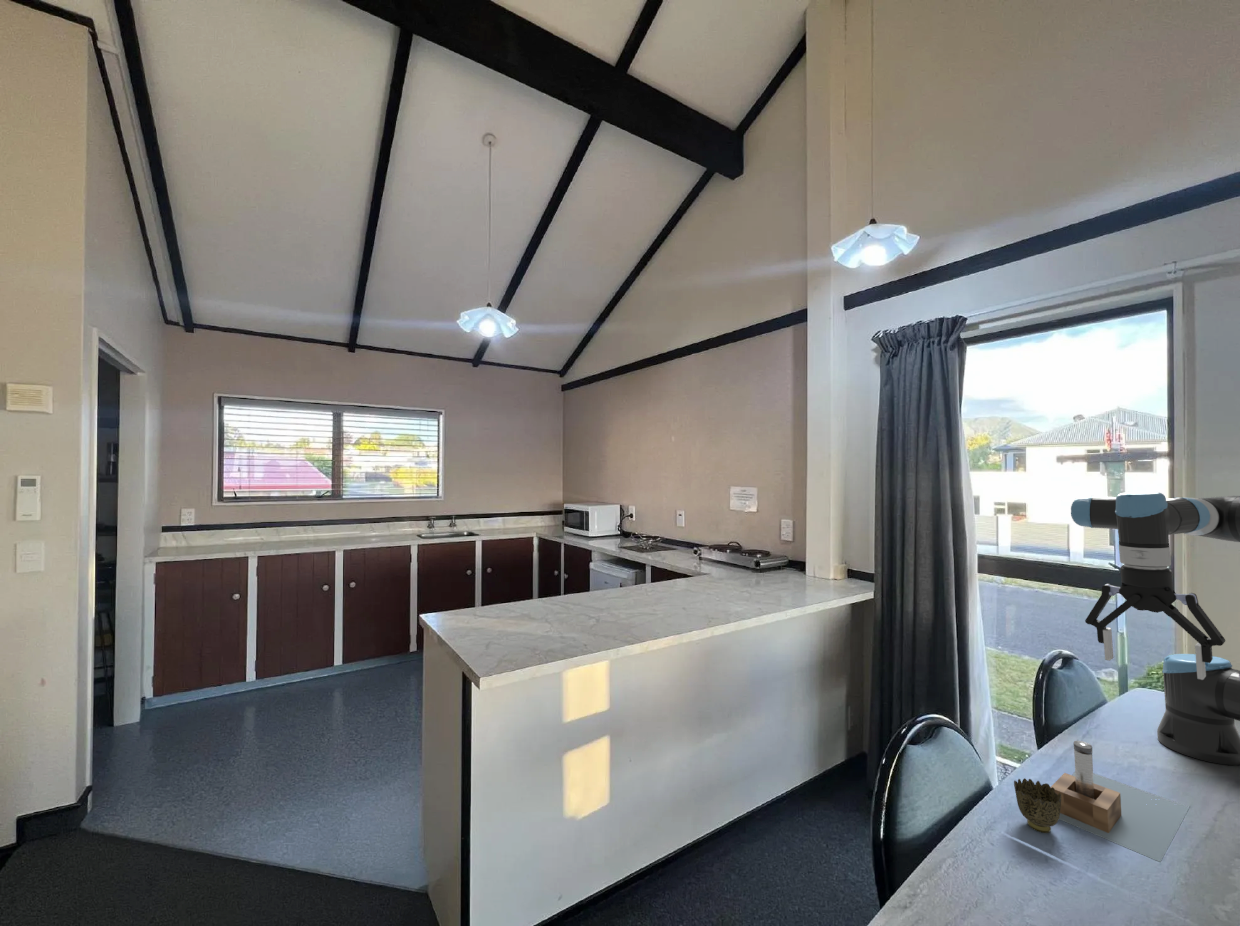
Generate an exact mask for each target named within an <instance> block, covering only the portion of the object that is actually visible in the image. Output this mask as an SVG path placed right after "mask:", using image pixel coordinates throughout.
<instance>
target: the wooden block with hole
mask: <svg viewBox="0 0 1240 926" xmlns="http://www.w3.org/2000/svg"><path fill="white" fill-rule="evenodd" d="M1050 787H1051V788H1052V787H1053V788H1054V790H1055V793H1056V794H1057V795H1058V794H1059V793H1060V794H1061V797H1062V798H1061V808H1060V813H1061V814H1064V815H1066V816H1069V817H1071V818H1073V819H1076V820H1078V821H1081V822H1083V823H1085V824H1088V825H1090V826H1093V827H1095V828H1097V829H1100V830H1102V831H1105V832H1107V833H1109V832H1110V831H1111V829H1112V828H1113V826H1114V825H1115V824H1116V822H1117V821H1118V819H1119V818H1120V817H1121V796H1120V793H1119V792H1116V791H1114V790H1111V789H1108V788H1105V787H1103V786H1100V785H1097V784H1094V799H1092V798H1089V797H1087V796H1084V795H1082V794H1079V793H1076V778H1075V776H1072V774H1068V773H1066V772H1064V773H1063V774H1062V775H1060V777H1059V778H1058V779H1057V780H1056V781H1055V782H1054V783H1053V784H1052V785H1051V786H1050Z"/></svg>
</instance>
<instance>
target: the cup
mask: <svg viewBox="0 0 1240 926" xmlns="http://www.w3.org/2000/svg"><path fill="white" fill-rule="evenodd" d="M1013 785H1014V791H1015V796H1016V797H1015V798H1016V802H1017V806H1018V809H1019V811H1020V813H1021V814H1022V816H1023V818H1024V819H1026V821H1027V822H1026V823H1027V825H1028V826H1029V827H1030V828H1031V829H1032V830H1034V831H1035V832H1039V833H1041V834H1048V833H1050V832H1051V830H1052V827H1054V826H1055V825H1057V824H1058V822H1059V821H1060V820H1059V816H1060V808H1061V798H1062V797H1061V794H1060V793H1059V794H1058V795H1057V794H1056V793H1055V790H1054V788H1053V787H1052V788H1051V786H1050V784H1049V783H1046V782H1045V783H1042V784H1041V782H1040V780H1037V781H1036V782H1034V781H1033V780H1032V779H1031V778H1029V779H1026V777H1025V778H1023V779H1022V780H1021V779H1020V778H1018V780H1016V779H1015V780H1014V781H1013Z"/></svg>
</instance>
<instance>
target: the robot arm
mask: <svg viewBox="0 0 1240 926" xmlns="http://www.w3.org/2000/svg"><path fill="white" fill-rule="evenodd" d="M1070 516H1071V519H1072V521H1073V522H1074V523H1075V524H1076V525H1078V526H1080V527H1086V528H1091V529H1106V530H1107V529H1108V530H1109V529H1110V530H1117V534H1118V535H1117V537H1118V550H1119V551H1118V553H1119V562H1120V563H1121V564H1122V565H1121V566H1120V567H1119V568H1120V577H1121V578H1120V579H1121V586H1116V585H1112V584H1111V583H1106V584H1104V585H1102V587H1101V595H1100V597H1099V598H1098V599H1097V601H1096V603H1095V604H1094V606H1093V607H1092V609H1091V611H1090V612H1089V613H1088V615H1087V617H1086V618H1085V620H1084V622H1085V623H1086V624H1087V625H1091V626H1093V627H1094V628H1095V629H1096V634H1097V635H1096V637H1097V641H1098V643H1099V644H1103V650H1104V661H1111V660H1113V659H1114V657H1115V656H1114V647H1113V635H1112V628H1111V627H1107V626H1108V625H1109V624H1111V623H1112V622H1114V621H1115V620H1116V619H1117V618H1118V617H1120V616H1121V615H1123V614H1124V613H1125V612H1126V611H1127V610H1129V609H1130V608H1131V607H1133V608H1134V609H1136V610H1137V611H1148V612H1152V613H1156V614H1157V613H1161V612H1163V613H1164V614H1165V615H1166V616H1168V617H1169V618H1171V619H1172V620H1173V621H1174V622H1175V623H1176V624H1178V626H1180V627H1181V628H1182V630H1183V631H1185V632H1186V633H1188V635H1190V636H1191V637H1192V638H1193V639H1194V640H1195V641H1196V642H1197V643H1195V645H1194V649H1195V651H1194V652H1195V653H1174V654H1169V655H1166V656H1165V657H1164V658H1163V662H1162V663H1163V665H1162V670H1161V671H1162V675H1163V678H1162V679H1163V688H1164V689H1163V690H1164V703H1165V704H1164V705H1165V711H1164V712H1163V716H1162V718H1161V720H1160V722H1159V724H1158V726H1157V731H1156V733H1157V735H1156V736H1157V741H1159V743H1161V744H1162V745H1163V746H1165V747H1166V748H1168V749H1169V750H1172V751H1174V752H1176V753H1180V754H1181V755H1184V756H1187V757H1190V758H1193V759H1197V760H1200V761H1205V762H1209V763H1212V764H1213V763H1214V764H1219V765H1220V764H1221V765H1230V766H1240V734H1239V732H1238V729H1237V728H1236V724H1235V721H1238V722H1240V670H1239V669H1235V668H1233V664H1232V663H1231V662H1230V660H1229V659H1225V658H1223V657H1219V656H1213V649H1212V647H1214V646H1218V647H1219V646H1223V645H1224V644H1225V643H1226V638H1225V637H1224V636H1223V635H1222V633H1221V632H1220V631H1219V629H1218V627H1217V626H1216V625H1215V624H1214V622H1213V621H1212V620H1211V618H1210V617H1209V616H1208V615H1207V613H1206V612H1205V610H1204V609H1203V608H1202V606H1201V605H1200V603H1199V600H1198V599H1199V598H1198V596H1197V594H1196V593H1193V592H1188V593H1177V592H1175V590H1174V586H1173V585H1174V584H1173V573H1172V570H1171V568H1169V567H1171V565H1172V557H1171V547H1170V537H1169V535H1180V534H1183V535H1187V536H1199V537H1203V538H1211V539H1216V540H1222V541H1227V542H1234V543H1240V495H1226V496H1225V495H1224V496H1211V497H1183V496H1181V497H1177V496H1176V497H1172V498H1166V496H1165V495H1164V493H1162V492H1158V491H1157V492H1156V491H1136V492H1135V491H1132V492H1129V491H1128V492H1121V493H1119V494H1117V495H1116V496H1115V497H1114V496H1094V495H1091V496H1079V497H1077V498H1075V499H1074V500H1073V501H1072V503H1071V505H1070ZM1117 593H1119V595H1121V597H1122V598H1123V599H1125V601H1123V603H1121V604H1120V605H1119V606H1118V607H1116V608H1115V609H1114V610H1113V611H1111V612H1110V613H1109V614H1108V615H1106V616H1105V617H1104V618H1102V619H1101V620H1099V619H1098V618H1099V616H1100V615H1101V614H1102V612H1103V610H1104V609H1105V607H1106V606H1107V604H1108V603H1109V600H1111V598H1112V597H1113V596H1116V595H1117ZM1177 600H1178V601H1180V602H1181V604H1182V605H1184V606H1187V608H1188V610H1189V611H1190V612H1191V614H1192V615H1193V617H1194V618H1195V620H1196V621H1197V622H1198V624H1199V625H1200V626H1201V627H1202V629H1203V631H1204V632H1205V633H1206V634H1205V633H1204V632H1202V631H1201V629H1199V628H1198V627H1197V626H1196V625H1195V624H1194V623H1192V621H1190V620H1189V618H1187V617H1186V616H1185V615H1184V614H1182V613H1181V612H1180V610H1179V609H1178V608H1177V607H1176V606H1175V605H1173V604H1174V602H1175V601H1177Z"/></svg>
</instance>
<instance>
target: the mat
mask: <svg viewBox="0 0 1240 926" xmlns="http://www.w3.org/2000/svg"><path fill="white" fill-rule="evenodd" d="M1071 775H1072V776H1075V771H1074V772H1073V773H1072V774H1071ZM1093 782H1094V784H1097V785H1100V786H1103V787H1105V788H1108V789H1111V790H1114V791H1116V792H1119V793H1120V796H1121V817H1120V818H1119V819H1118V821H1117V822H1116V824H1115V825H1114V826H1113V828H1112V829H1111V831H1110V832H1109V833H1107V832H1105V831H1102V830H1100V829H1097V828H1095V827H1093V826H1090V825H1088V824H1085V823H1083V822H1081V821H1078V820H1076V819H1073V818H1071V817H1069V816H1066V815H1064V814H1061V813H1060V816H1059V820H1058V821H1062V822H1065V823H1067V824H1069V825H1071V826H1074V827H1076V828H1078V829H1081V830H1083V831H1086V832H1088V833H1090V834H1092V835H1095V836H1097V837H1100V838H1102V839H1105V840H1107V841H1109V842H1112V843H1114V844H1116V845H1118V846H1121V847H1123V848H1126V849H1127V850H1131V851H1133V852H1136V853H1137V854H1140V855H1142V856H1144V857H1147V858H1150V859H1151V860H1153V861H1156V862H1159V863H1161V862H1162V860H1163V859H1164V857H1165V855H1166V852H1167V850H1168V849H1169V847H1170V845H1171V844H1172V841H1173V839H1174V837H1175V835H1176V834H1177V832H1178V831H1179V828H1180V826H1181V825H1182V822H1184V821H1183V820H1184V819H1185V817H1186V815H1187V814H1188V812H1189V810H1190V806H1189V805H1186V804H1183V803H1180V802H1177V801H1174V800H1171V799H1169V798H1166V797H1162V796H1160V795H1156V794H1155V793H1151V792H1148V791H1145V790H1143V789H1140V788H1137V787H1134V786H1131V785H1129V784H1126V783H1123V782H1120V781H1117V780H1115V779H1111V778H1108V777H1106V776H1102V775H1100V774H1097V773H1095V772H1093ZM1151 799H1152V800H1151ZM1155 799H1157V800H1155ZM1158 799H1160V800H1158ZM1146 804H1147V805H1146ZM1155 804H1157V805H1155ZM1174 804H1177V805H1174Z"/></svg>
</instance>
